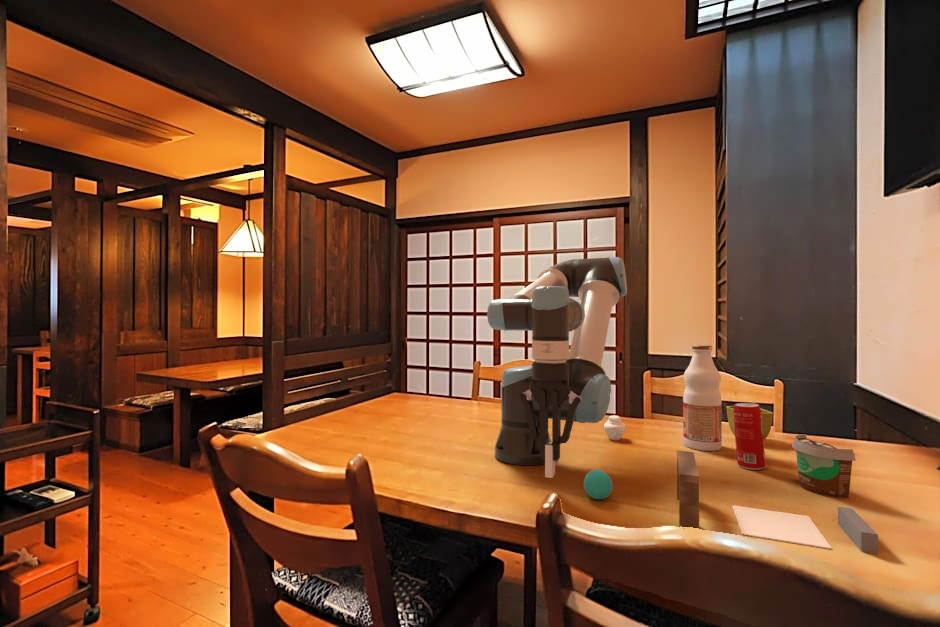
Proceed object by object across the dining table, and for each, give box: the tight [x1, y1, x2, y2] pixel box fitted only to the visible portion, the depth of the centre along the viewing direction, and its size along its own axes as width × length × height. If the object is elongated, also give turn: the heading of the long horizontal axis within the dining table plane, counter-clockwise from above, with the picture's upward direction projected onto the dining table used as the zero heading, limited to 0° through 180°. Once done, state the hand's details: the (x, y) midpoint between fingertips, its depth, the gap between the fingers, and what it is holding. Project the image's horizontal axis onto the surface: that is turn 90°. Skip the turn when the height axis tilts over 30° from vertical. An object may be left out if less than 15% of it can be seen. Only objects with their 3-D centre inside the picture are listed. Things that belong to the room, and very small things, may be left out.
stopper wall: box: [837, 506, 879, 555], centre depth 74 cm, size 2×10×3 cm, turn 157°
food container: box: [791, 433, 856, 499], centre depth 94 cm, size 12×6×10 cm, turn 5°
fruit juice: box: [682, 344, 723, 452], centre depth 125 cm, size 9×9×28 cm
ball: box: [583, 469, 613, 500], centre depth 90 cm, size 6×6×6 cm
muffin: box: [603, 414, 626, 441], centre depth 133 cm, size 6×6×7 cm
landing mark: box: [731, 504, 833, 550], centre depth 78 cm, size 12×12×1 cm
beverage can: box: [733, 402, 767, 471], centre depth 108 cm, size 6×6×15 cm
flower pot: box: [725, 405, 774, 441], centre depth 130 cm, size 9×9×9 cm
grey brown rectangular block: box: [676, 449, 700, 529], centre depth 84 cm, size 3×14×9 cm, turn 157°
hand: (550, 475), depth 93 cm, fingers closed
